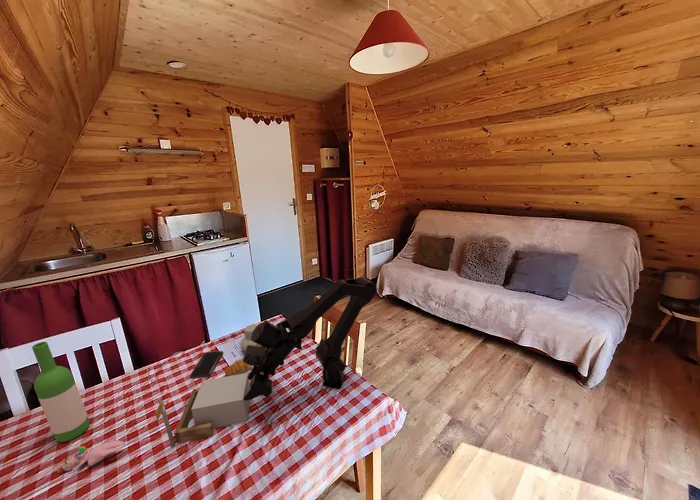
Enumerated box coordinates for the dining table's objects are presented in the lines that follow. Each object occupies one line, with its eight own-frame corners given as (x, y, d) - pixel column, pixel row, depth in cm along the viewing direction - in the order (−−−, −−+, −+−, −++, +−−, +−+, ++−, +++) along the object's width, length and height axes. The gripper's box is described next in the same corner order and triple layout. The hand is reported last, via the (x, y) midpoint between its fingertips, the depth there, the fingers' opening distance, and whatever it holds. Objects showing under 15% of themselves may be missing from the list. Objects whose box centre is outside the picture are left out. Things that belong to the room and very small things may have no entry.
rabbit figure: (57, 484, 75) (120, 461, 77) (44, 467, 73) (109, 444, 75) (73, 461, 81) (131, 440, 83) (62, 445, 79) (122, 424, 81)
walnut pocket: (225, 392, 100) (217, 354, 96) (209, 448, 80) (198, 403, 76) (191, 398, 99) (182, 360, 94) (166, 457, 78) (153, 411, 74)
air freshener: (251, 358, 118) (248, 336, 115) (237, 353, 122) (233, 331, 119) (271, 344, 127) (268, 323, 124) (258, 339, 131) (254, 319, 128)
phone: (223, 350, 123) (210, 375, 108) (224, 353, 123) (210, 377, 109) (204, 352, 122) (188, 377, 108) (204, 355, 123) (188, 379, 108)
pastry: (229, 381, 106) (227, 372, 105) (222, 372, 111) (220, 364, 110) (254, 369, 112) (252, 360, 111) (246, 361, 117) (245, 352, 116)
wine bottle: (63, 427, 90) (28, 341, 82) (94, 417, 93) (64, 333, 85) (50, 448, 83) (11, 356, 75) (84, 437, 86) (50, 347, 78)
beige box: (251, 392, 100) (247, 372, 97) (246, 421, 88) (242, 399, 86) (207, 401, 97) (202, 380, 95) (196, 431, 86) (191, 409, 84)
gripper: (259, 323, 97) (230, 358, 98) (253, 357, 79) (217, 399, 81) (286, 340, 101) (257, 374, 102) (286, 376, 83) (251, 416, 84)
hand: (246, 388), depth 92 cm, fingers open, 9 cm apart
